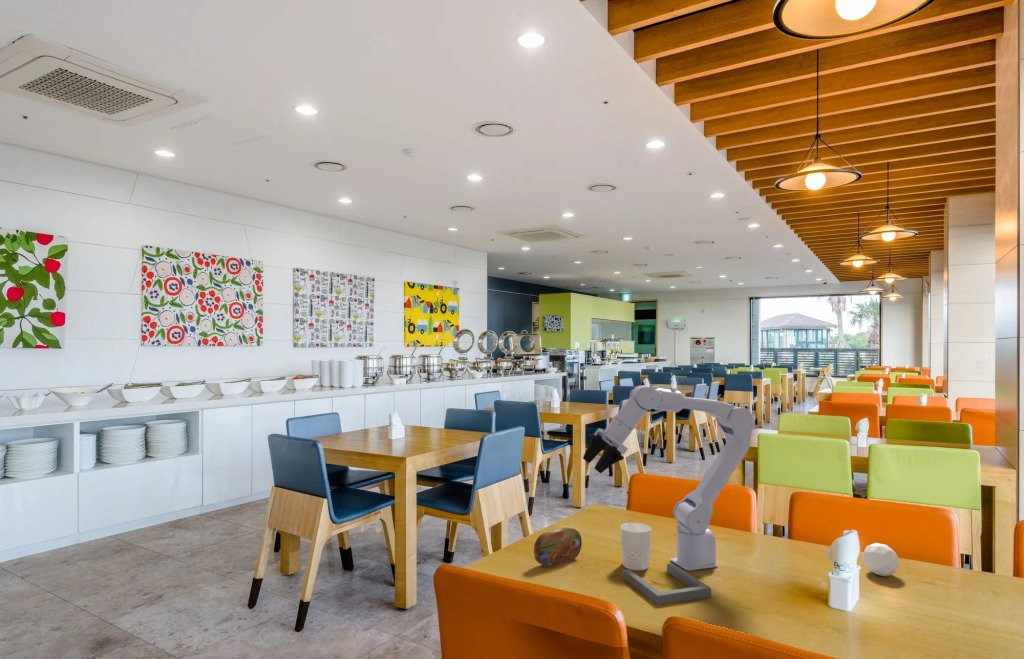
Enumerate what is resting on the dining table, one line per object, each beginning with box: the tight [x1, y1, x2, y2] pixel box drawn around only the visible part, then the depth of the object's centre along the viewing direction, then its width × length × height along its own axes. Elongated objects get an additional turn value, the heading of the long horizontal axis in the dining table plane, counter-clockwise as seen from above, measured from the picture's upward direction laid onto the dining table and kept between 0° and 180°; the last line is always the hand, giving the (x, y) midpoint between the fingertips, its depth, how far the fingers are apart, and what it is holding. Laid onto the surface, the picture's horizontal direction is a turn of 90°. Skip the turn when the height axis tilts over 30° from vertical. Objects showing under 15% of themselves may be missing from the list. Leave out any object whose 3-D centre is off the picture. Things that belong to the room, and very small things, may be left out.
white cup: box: [619, 522, 652, 571], centre depth 150 cm, size 8×8×10 cm
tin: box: [533, 527, 583, 568], centre depth 152 cm, size 15×3×8 cm, turn 126°
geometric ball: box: [862, 542, 900, 577], centre depth 145 cm, size 8×8×8 cm
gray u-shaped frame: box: [622, 562, 712, 606], centre depth 137 cm, size 14×16×2 cm
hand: (591, 465), depth 149 cm, fingers open, 7 cm apart
